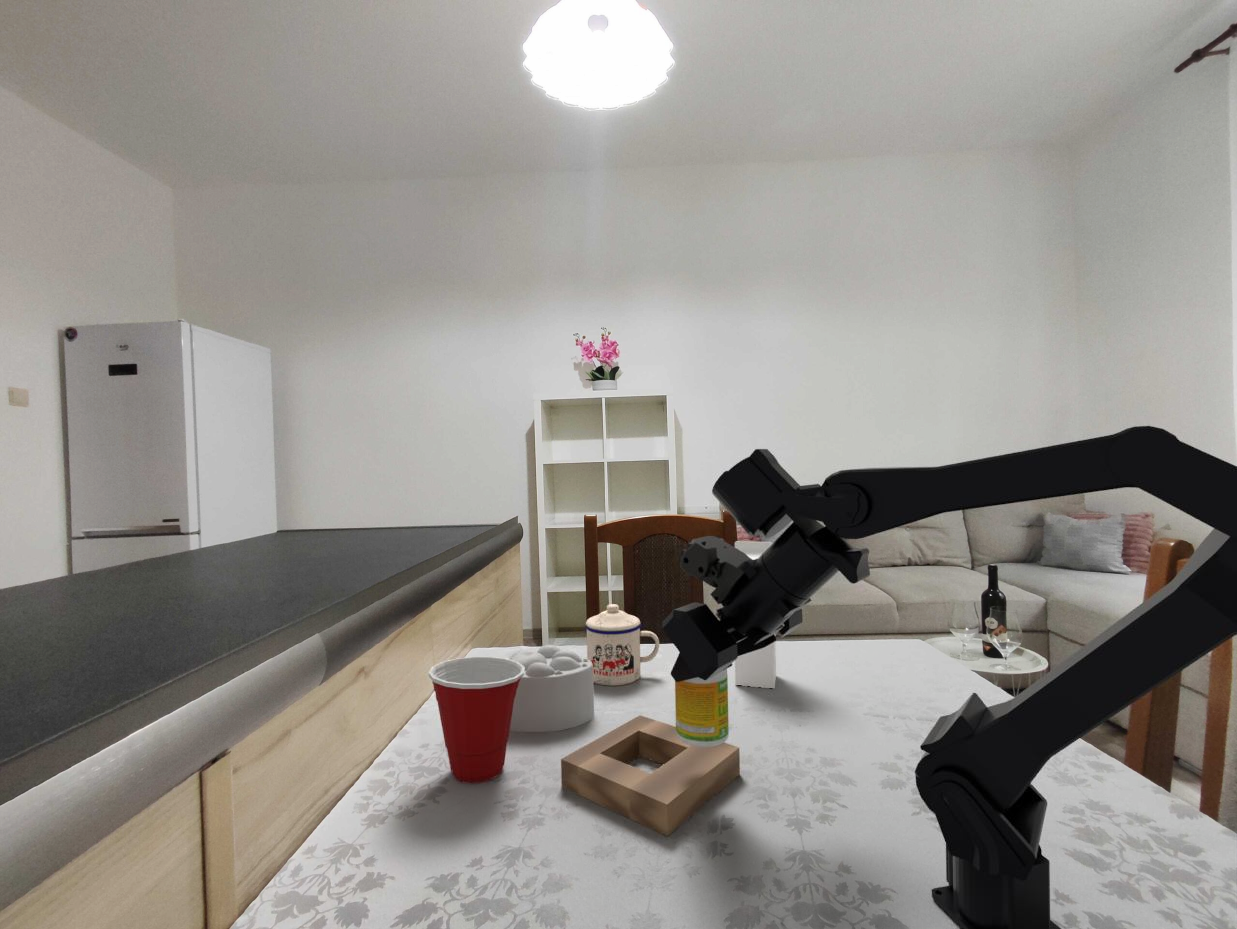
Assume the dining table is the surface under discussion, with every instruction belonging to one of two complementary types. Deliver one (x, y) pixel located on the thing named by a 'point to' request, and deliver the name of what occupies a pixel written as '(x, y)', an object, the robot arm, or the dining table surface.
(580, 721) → the lumpy-topped squat cylinder
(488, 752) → the plastic cup
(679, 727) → the supplement bottle
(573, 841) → the dining table surface
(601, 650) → the teacup with lid
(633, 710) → the dining table surface
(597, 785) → the bottle holder
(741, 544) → the milk
